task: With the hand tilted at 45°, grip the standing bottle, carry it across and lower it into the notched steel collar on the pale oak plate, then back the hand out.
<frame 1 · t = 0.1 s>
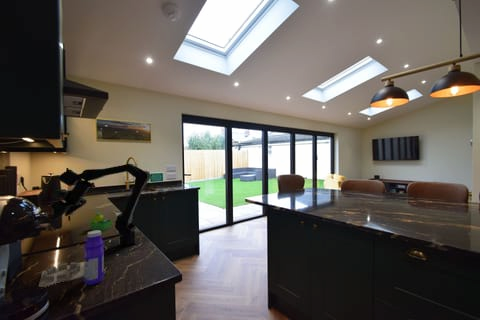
hand: (59, 218, 103), 15 cm above the counter, tool tilted 35°, fingers open, 9 cm apart
bottle: (93, 281, 74), on the counter
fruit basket: (99, 229, 132), on the counter
collar plate: (69, 273, 80), on the counter
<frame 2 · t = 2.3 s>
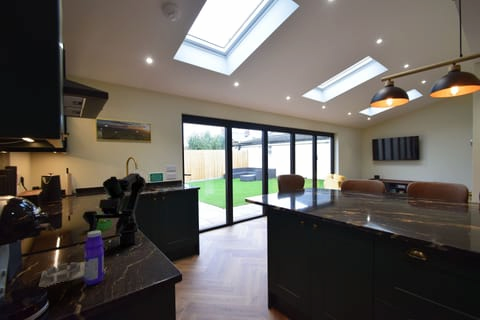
hand: (103, 235, 82), 14 cm above the counter, tool tilted 45°, fingers open, 9 cm apart
nothing on the counter moved.
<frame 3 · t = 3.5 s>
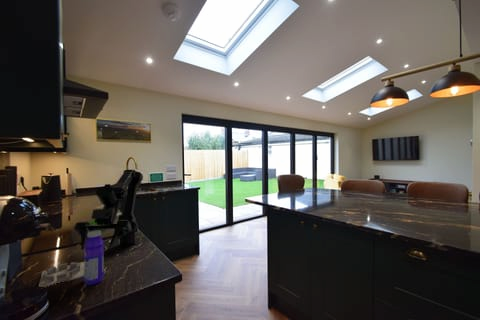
hand: (96, 248, 76), 11 cm above the counter, tool tilted 45°, fingers open, 9 cm apart
nothing on the counter moved.
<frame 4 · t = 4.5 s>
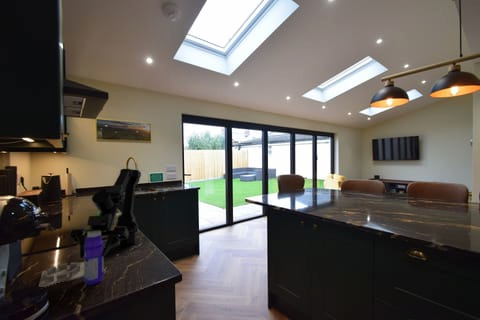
hand: (92, 256, 73), 9 cm above the counter, tool tilted 45°, fingers closed on bottle, 7 cm apart
bottle: (93, 281, 74), on the counter, touching gripper
everything else where it was.
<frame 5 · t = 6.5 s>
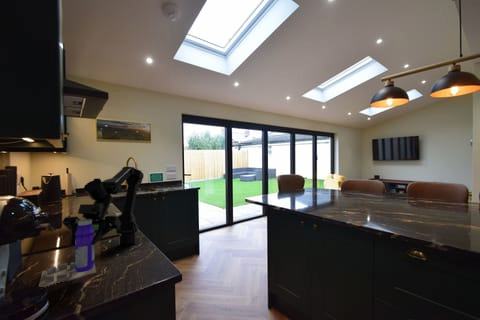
hand: (82, 244, 74), 13 cm above the counter, tool tilted 45°, fingers closed on bottle, 7 cm apart
bottle: (84, 269, 75), point 4 cm above the counter, touching gripper
everything else where it was.
when the fingers open (11 cm above the counter, at t = 8.5 s): bottle stays where it is, resting on collar plate.
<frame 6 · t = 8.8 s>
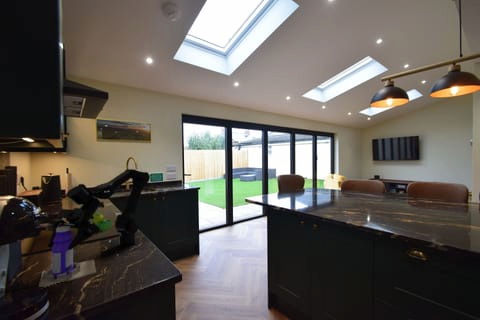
hand: (58, 248, 76), 11 cm above the counter, tool tilted 45°, fingers open, 9 cm apart
bottle: (62, 274, 78), resting on collar plate
everything else where it was.
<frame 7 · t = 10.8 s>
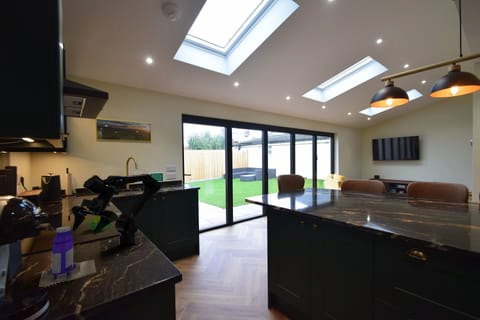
hand: (83, 232, 87), 13 cm above the counter, tool tilted 35°, fingers open, 9 cm apart
nothing on the counter moved.
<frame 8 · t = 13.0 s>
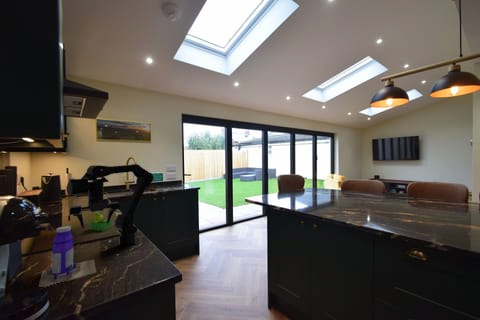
hand: (95, 226, 95), 13 cm above the counter, tool pointing down, fingers open, 9 cm apart
nothing on the counter moved.
at the end: bottle 0.1 cm from the target spot on the collar plate, point 0.4 cm above the collar plate's base; bottle tilted 0°; the gripper is holding nothing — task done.
